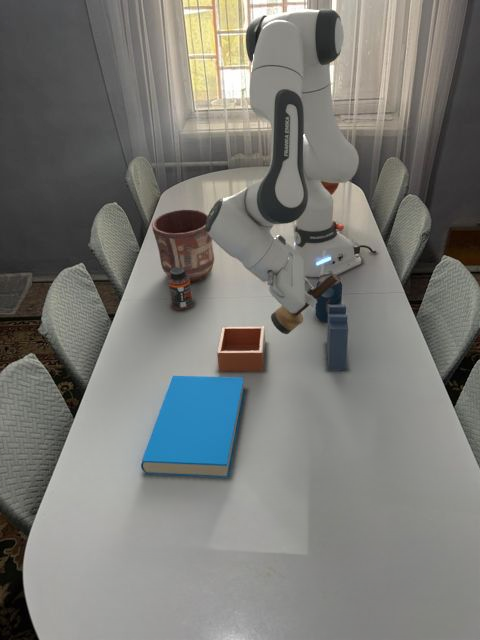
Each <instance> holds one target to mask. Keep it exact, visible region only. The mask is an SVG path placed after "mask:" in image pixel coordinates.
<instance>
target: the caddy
mask: <svg viewBox="0 0 480 640" xmlns="http://www.w3.org/2000/svg"><path fill="white" fill-rule="evenodd" d="M265 329H266V327H265V326H222V327H221V332H220V337H219V340H218V341H219V342H218V347H217V352H216V355H217V362H218V371H219V372H264V367H265V355H266V333H265V332H266V330H265Z"/></svg>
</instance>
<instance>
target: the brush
mask: <svg viewBox="0 0 480 640" xmlns="http://www.w3.org/2000/svg"><path fill="white" fill-rule="evenodd" d="M337 276H338V275H337ZM337 276H336V275H335V274H334V273H332V274H330V275H329V276H328V277H327V278H326V279H325V280H323V281H322V282H321V283H320V284H319V285H318V286H316V285H315V287H314V289H313V290H312V291H311V292H309V293H308V294H309V295H314V296H315V297H316V298H317V299H318V298H319V297H320V296H321V295H322V294H323V293H325V292H326V291H327V290H328V289H329V288H331V287H332V286H333V285H334V284H335V283H336V282H338V281H339V279H338V277H337ZM309 306H310V305H309V304H308V303H305V306H304V307H303V308H301V309H300V310H299V311H298V312H297V313H290V312H289V311H288V310H287V309H286V308H284V307H283V306H282V305H280V306H279V307H278V308H277V309H276V310H275V311H274V312H273V313H271V315H270V320H271V322H272V324H273V326H274V327H275V328H276V329H277V330H278V331H279V332H280V333H281V334H284V335H289V334H290V333H291V332H293V330H295V329H296V328H297V327H298V326H299V325H301V324H302V323H303V322H304V315H303V312H304V311H305V310H306V309H307V308H308V307H309Z"/></svg>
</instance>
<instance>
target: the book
mask: <svg viewBox="0 0 480 640" xmlns="http://www.w3.org/2000/svg"><path fill="white" fill-rule="evenodd" d="M244 379H245V378H244V377H241V376H239V377H237V376H203V375H202V376H201V375H200V376H198V375H197V376H196V375H171V379H170V382H169V385H168V388H167V390H166V393H165V396H164V398H163V402H162V404H161V406H160V409H159V411H158V415H157V417H156V420H155V423H154V426H153V429H152V431H151V434H150V437H149V440H148V443H147V445H146V448H145V451H144V454H143V456H142V459H141V464H140V468H141V470H142V471H143V473H145V475H159V476H160V475H163V476H181V477H182V476H183V477H201V478H204V477H205V478H223V479H224V478H225V479H229V478H230V473H231V468H232V462H233V457H234V452H235V446H236V441H237V436H238V431H239V425H240V424H239V423H240V421H241V420H240V418H241V413H242V408H243V403H244V397H245V391H246V389H245V388H244Z"/></svg>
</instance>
